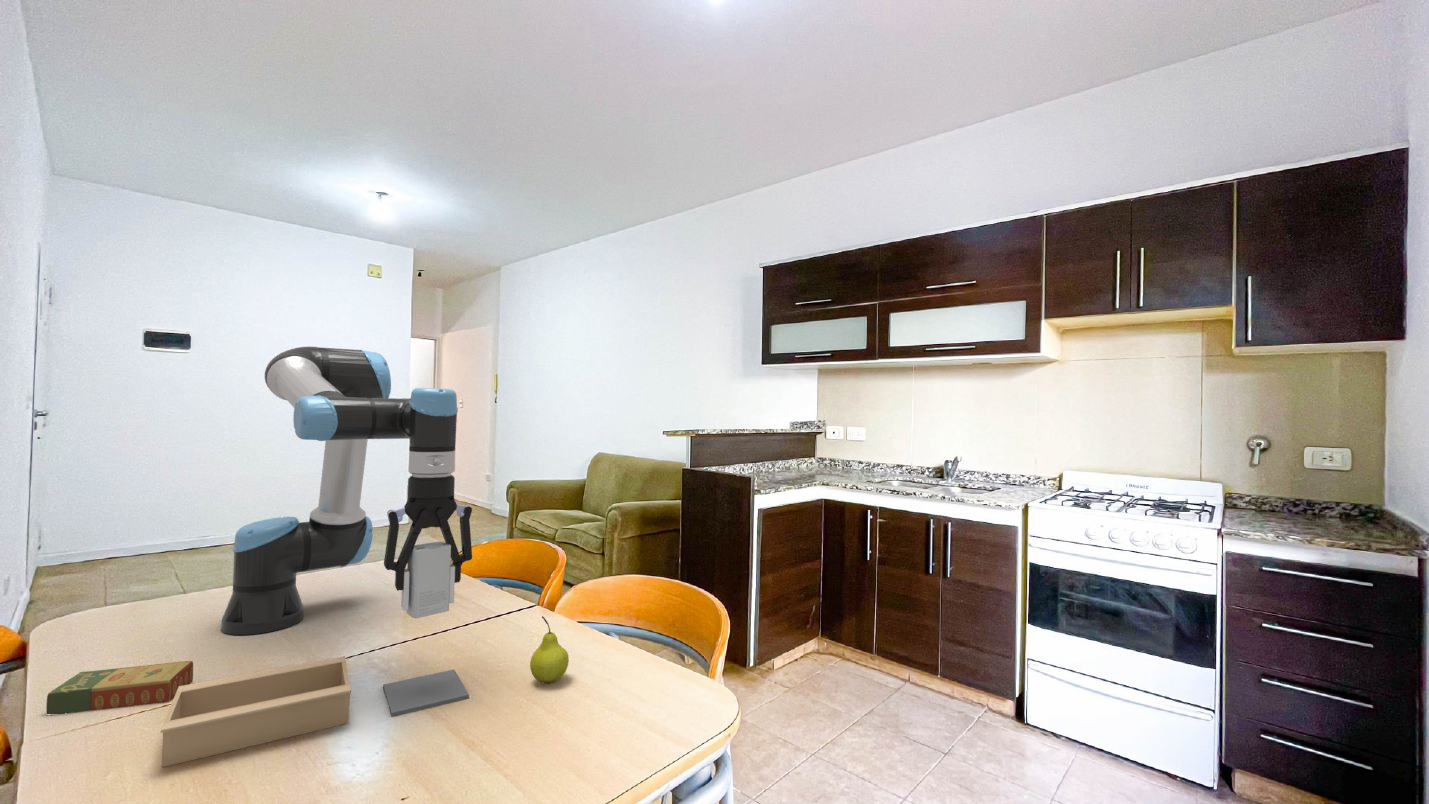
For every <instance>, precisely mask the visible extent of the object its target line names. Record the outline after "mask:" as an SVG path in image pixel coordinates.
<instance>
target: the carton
mask: <svg viewBox="0 0 1429 804" xmlns="http://www.w3.org/2000/svg"><path fill="white" fill-rule="evenodd" d="M193 679H194V661H193V660H188V661H187V660H186V661H176V662H168V663H167V662H166V663H157V664H149V665H148V664H146V665H138V666H129V667H126V666H125V667H118V668H117V667H116V668H110V669H109V668H108V669H107V668H106V669H100V670H99V669H98V670H87V671H79V672H78V673H77V674H76V675H74V676H73V677H71V678H70V679H68V680H67V681H65V682H63V683H62V684H61V685H59V686H57V687H55V688H54V689H52V690H50V692H48V694H47V696H46V707H45V708H46V715H47V714H59V715H66V714H65V713H67V714H76V713H85V712H91V711H101V710H109V709H110V710H111V709H118V708H119V709H120V708H128V707H129V708H130V707H135V706H147V705H154V704H163V703H170V702H171V701H173V699H174V697H175V694H176V692H177V689H178V687H179V686H184V685H189V684H193V681H194V680H193Z"/></svg>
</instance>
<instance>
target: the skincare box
mask: <svg viewBox="0 0 1429 804" xmlns="http://www.w3.org/2000/svg"><path fill="white" fill-rule="evenodd" d="M451 563H452V559H451V545H448V544H447V543H445V541H435V542H429V543H428V542H427V543H423V544H415V546H414V548H413V550H412V553H411V555H410V558H409V560H408V563H407V565H406V568H407V569H408V570H409V604H408V610H405V613H406V614H407V615H408V616H410V617H411V618H414V619H420V618H425V617H428V616H429V617H430V616H432V615H436V614H441V613H445V612H449V611H450V603H449V595H450V564H451Z"/></svg>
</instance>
